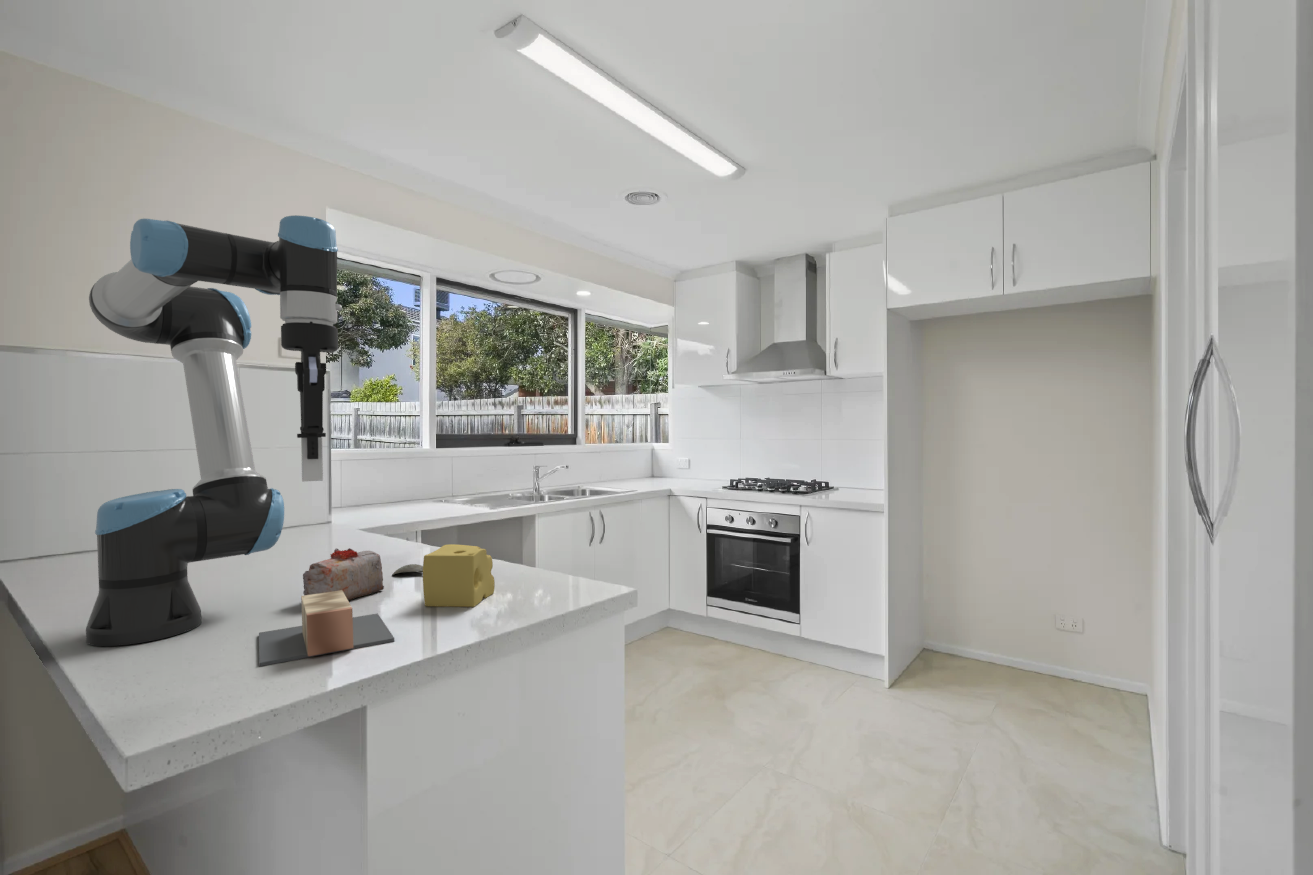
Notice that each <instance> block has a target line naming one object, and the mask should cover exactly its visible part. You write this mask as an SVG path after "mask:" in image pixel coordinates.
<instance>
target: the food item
mask: <svg viewBox="0 0 1313 875" xmlns="http://www.w3.org/2000/svg"><path fill="white" fill-rule="evenodd" d="M383 576H384V573H383V566H382V559H381V555H380V554H378V553H377V552H375V551H373V550H363V551H358V552H357V551H355V550H354V549H352V548H347V549H344V550H340V549H339V548H335V549H334V551H333V552H332V553H330V558H329V559H324V560H321V561H318V562H315V563H312V564H310V565H309V567H308V570H305V571H304V573H302V579H303V580H302V581H303V596H304V595H311V594H319V593H326V592H333V591H340V590H342V591H343V593H344V594H345V596H346V598H347V600H348V601H351V600H355V599H357V598H360V597H361V598H362V597H363V596H369V595H372V594H374V593H378V592H381V591H383V590H384V588H385V585H384V584H383V583H384V582H383V581H384V577H383Z"/></svg>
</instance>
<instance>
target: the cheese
mask: <svg viewBox="0 0 1313 875" xmlns="http://www.w3.org/2000/svg"><path fill="white" fill-rule="evenodd" d="M493 562H494V561H493V558H492V556H491V555H490V554H488V553H487V549H486V548H481V547H480V546H477V545H468V544H467V545H466V544H454V543H453V544H452V543H451V544H443V545H442V546H441V547H439V548H437V549H436V550H434V551H432V552H430V553H427V554H424V555H423V564H422V566H423V572H422V590H423V600H424V607H437V608H438V607H441V608H442V607H443V608H444V607H449V608H450V607H454V608H458V607H459V608H462V607H463V608H464V607H465V608H474V607H476V606H477V605H478V604H480V603H481V602H482V601H483V599H486V598H488V597H489V596H491V595H493V594H495V586H496V585H495V577H494V576H493V574H492V569H493V565H494V564H493Z"/></svg>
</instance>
